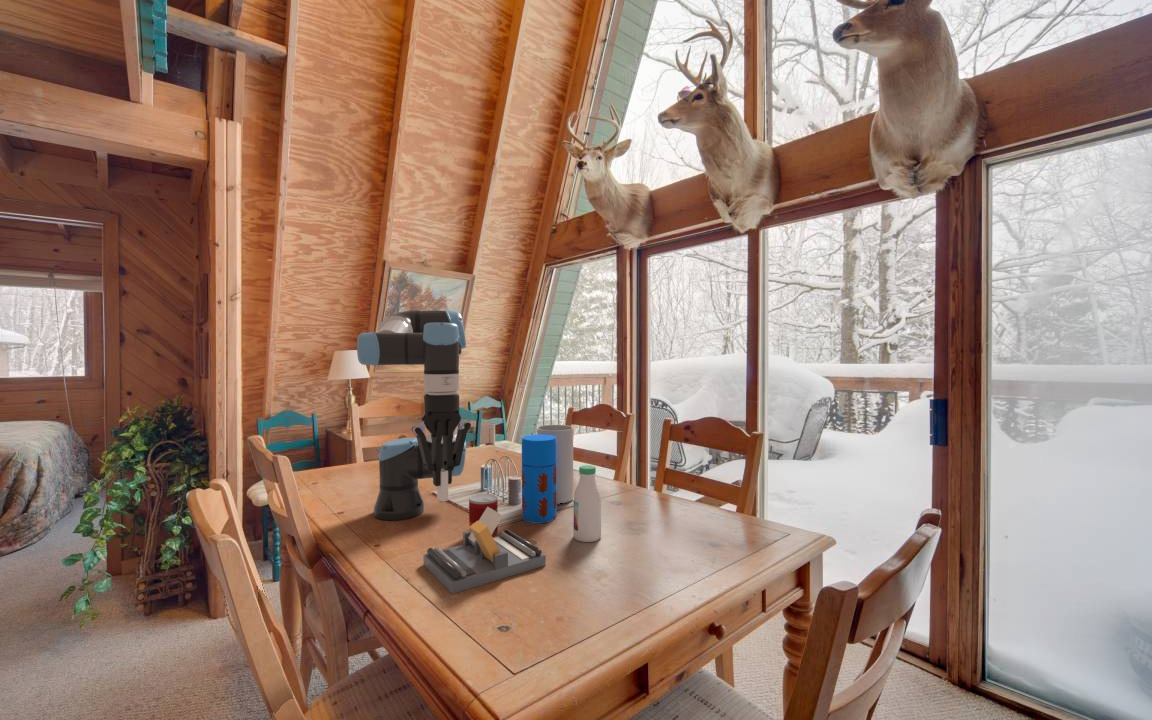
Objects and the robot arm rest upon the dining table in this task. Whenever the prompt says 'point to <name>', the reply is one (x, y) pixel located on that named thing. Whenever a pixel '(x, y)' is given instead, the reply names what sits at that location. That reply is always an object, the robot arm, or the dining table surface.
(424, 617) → the dining table surface
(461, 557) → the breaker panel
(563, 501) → the cylinder vase
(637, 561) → the dining table surface
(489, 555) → the block
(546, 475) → the thermos
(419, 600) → the dining table surface
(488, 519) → the block
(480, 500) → the canned food
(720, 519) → the dining table surface
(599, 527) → the milk bottle
